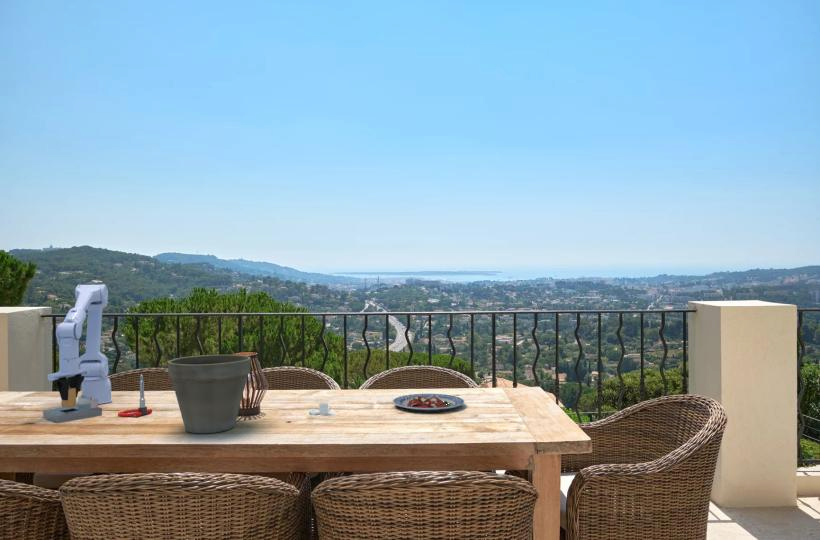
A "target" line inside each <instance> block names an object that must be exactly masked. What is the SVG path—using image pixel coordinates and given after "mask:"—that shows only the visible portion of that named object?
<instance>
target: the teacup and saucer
mask: <svg viewBox="0 0 820 540" xmlns="http://www.w3.org/2000/svg"><path fill="white" fill-rule="evenodd" d="M331 409H332V407H331V405H330V404H329V403H328V402H320V403H318V409H316V408H312V409H309V410H308V414H309V415H311V417H314V418H319V416H318V415H320V416H325V418H330V417H334V416H335V415H336V413H335V412H332V411H331ZM328 414H331V415H328ZM326 415H328V416H326Z"/></svg>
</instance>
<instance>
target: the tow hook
mask: <svg viewBox="0 0 820 540" xmlns="http://www.w3.org/2000/svg"><path fill="white" fill-rule="evenodd" d="M152 413H153V409H152V408H148V407H147V406H146V399H145V381H144V375H143V374H140V375H139V407H138V408H135V409H134V408H133V409H125V410H121V411H119V412H118V413H117V416H118V417H121V418H122V417H125V418H126V417H133V418H138V417H143V416H145V415H150V414H152Z"/></svg>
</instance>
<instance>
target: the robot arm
mask: <svg viewBox="0 0 820 540" xmlns="http://www.w3.org/2000/svg"><path fill="white" fill-rule="evenodd" d="M74 295H75V300H76V302H75V305H74V307H72V308H71V309H69V310H68V312H67V313H66V315H65V318H64V319H63V321H62V322H60V323H59V324H57V325H56V329H55V336H56V339H57V346H58V348H59V349H58V350H59V351H58V352H59V354H58V355H59V356H58V357H59V358H58V360H59V364H58V367H59V370H58V371H57V372H54V373H49V374H48V373H47V381H50V382H53V384H54V385H55V386H56V388H57V390H58V392H59V395H60V400H61V401H62V400H68V390H69V388H76V399H78V395H79V390H80V389H81V395H86V396H88V397H95V399H98V405H101V404H107V403H112V402H113V400H112V382H111V379H110V378H108V377H107V376H108V375H109V370H110V369H109V362H108V361H109V359H108V357H107V356H106V355H105V354H103V353H102V352H101V339H102V338H101V337H102V324H103V323H102V322H103V320H102V319H103V311H104V308H106V307H107V306H108V299H109V290H108V286H107V285H106V284H104V283H103V284H77V286H76V287H75V289H74ZM86 311H87V313H86ZM86 319H87V320H86ZM85 320H86V339H85V353H83V354H82V355H81V356H80V355H79V354H80V353H79V352H80V351H79V350H80V349H79V347H80V343H79V341H80V339H81V337H82V333H83V324H84V322H85ZM76 404H78V401H76Z"/></svg>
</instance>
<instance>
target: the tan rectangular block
mask: <svg viewBox="0 0 820 540" xmlns="http://www.w3.org/2000/svg"><path fill="white" fill-rule="evenodd" d="M76 405H77V398H76V388H70V387H69V390H68V400H62V399H61V408H62V407H66V408H69V407H74V406H76Z"/></svg>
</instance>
